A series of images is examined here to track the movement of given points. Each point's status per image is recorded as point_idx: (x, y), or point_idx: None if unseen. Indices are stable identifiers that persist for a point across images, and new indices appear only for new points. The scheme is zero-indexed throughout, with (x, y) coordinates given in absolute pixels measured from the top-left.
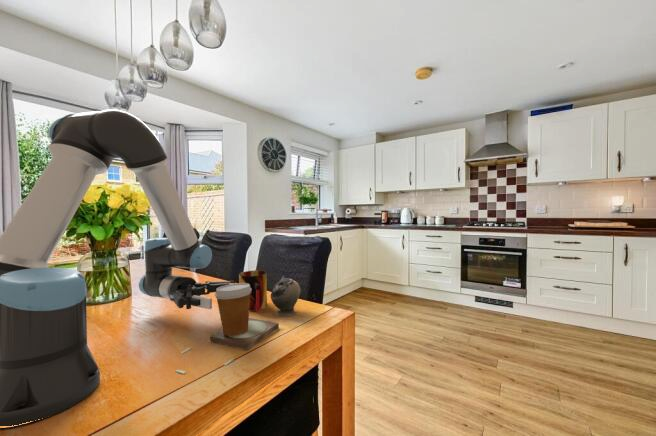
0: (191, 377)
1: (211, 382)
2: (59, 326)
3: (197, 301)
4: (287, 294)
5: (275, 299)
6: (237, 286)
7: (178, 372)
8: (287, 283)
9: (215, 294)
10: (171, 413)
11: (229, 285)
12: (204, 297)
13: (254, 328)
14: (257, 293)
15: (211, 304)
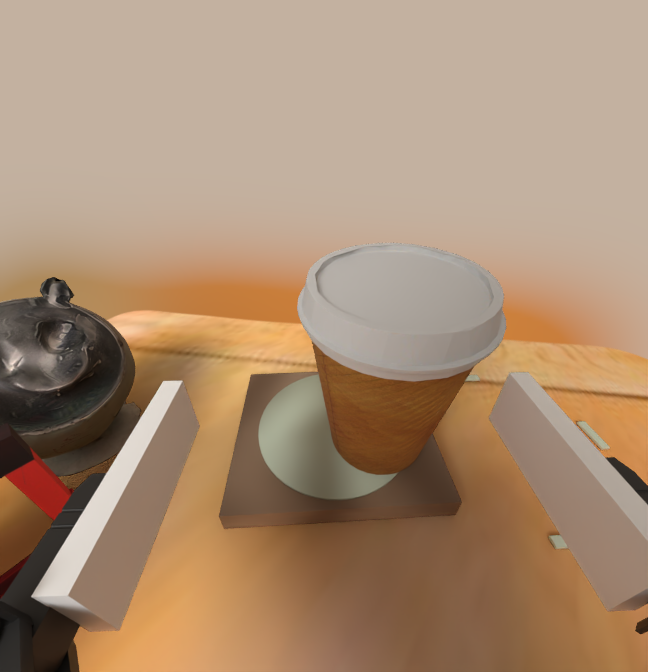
0: (562, 400)
1: (523, 363)
2: None
3: (608, 461)
4: (121, 335)
5: (119, 389)
6: (360, 287)
7: (599, 438)
8: (59, 308)
9: (498, 333)
10: (605, 357)
11: (365, 326)
12: (556, 417)
13: (321, 401)
14: (47, 470)
15: (498, 401)
